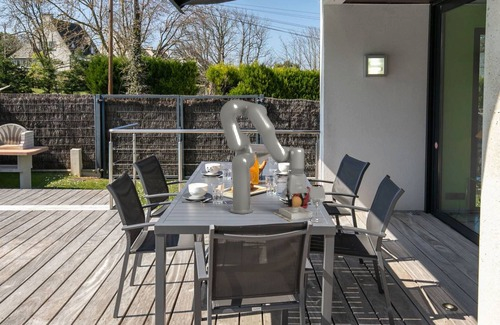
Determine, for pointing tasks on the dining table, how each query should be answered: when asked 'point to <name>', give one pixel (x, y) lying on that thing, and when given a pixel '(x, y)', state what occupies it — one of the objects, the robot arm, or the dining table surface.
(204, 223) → the dining table surface
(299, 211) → the tray
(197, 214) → the dining table surface
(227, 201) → the dining table surface
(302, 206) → the plant pot
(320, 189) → the wineglass
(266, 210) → the dining table surface
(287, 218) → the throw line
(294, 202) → the ball
